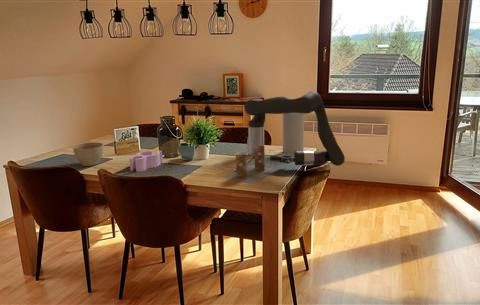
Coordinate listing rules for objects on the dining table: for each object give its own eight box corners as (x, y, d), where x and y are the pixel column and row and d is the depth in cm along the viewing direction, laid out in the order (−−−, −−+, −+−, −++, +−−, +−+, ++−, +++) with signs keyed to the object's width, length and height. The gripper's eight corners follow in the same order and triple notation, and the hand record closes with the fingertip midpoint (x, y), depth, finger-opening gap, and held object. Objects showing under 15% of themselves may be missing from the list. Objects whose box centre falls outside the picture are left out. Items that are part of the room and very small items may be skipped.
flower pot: (180, 157, 234) (179, 142, 232) (195, 156, 235) (194, 142, 232) (179, 161, 225) (178, 146, 223) (195, 160, 226) (194, 145, 224)
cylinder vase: (279, 151, 243) (279, 111, 237) (296, 149, 248) (297, 109, 242) (289, 155, 232) (289, 113, 226) (307, 153, 237) (308, 112, 231)
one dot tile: (236, 178, 190) (235, 154, 187) (236, 175, 195) (236, 152, 192) (246, 178, 190) (246, 154, 187) (246, 175, 195) (246, 151, 192)
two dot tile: (254, 171, 201) (254, 148, 198) (254, 168, 206) (254, 146, 203) (264, 171, 201) (264, 148, 198) (264, 168, 206) (264, 146, 203)
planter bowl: (68, 166, 219) (66, 147, 217) (88, 159, 234) (86, 141, 231) (92, 169, 214) (89, 149, 211) (111, 161, 229) (109, 143, 226)
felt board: (222, 178, 194) (222, 176, 193) (251, 166, 213) (251, 165, 213) (250, 184, 184) (250, 183, 183) (278, 171, 203) (278, 169, 203)
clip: (143, 172, 206) (142, 160, 204) (124, 170, 211) (123, 157, 209) (166, 163, 223) (165, 151, 222) (148, 161, 229) (147, 149, 227)
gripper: (305, 168, 196) (270, 168, 196) (302, 161, 209) (269, 161, 209) (306, 154, 194) (270, 154, 194) (302, 147, 207) (269, 148, 207)
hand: (270, 158), depth 202 cm, fingers closed
